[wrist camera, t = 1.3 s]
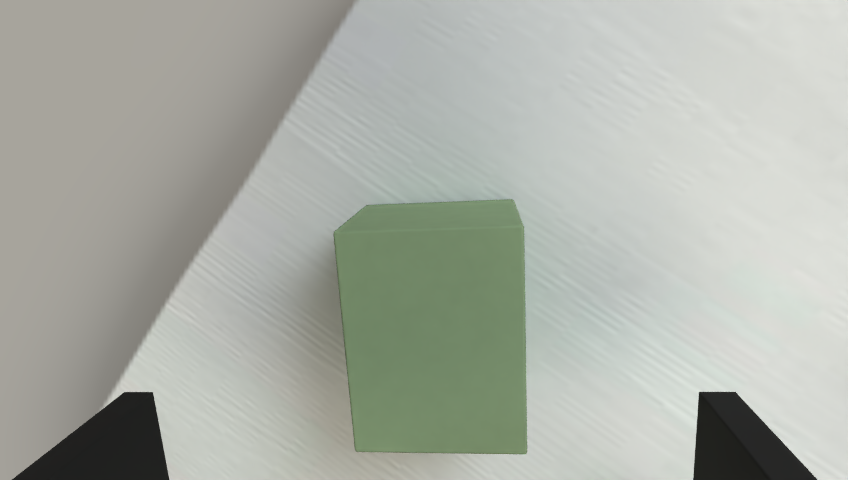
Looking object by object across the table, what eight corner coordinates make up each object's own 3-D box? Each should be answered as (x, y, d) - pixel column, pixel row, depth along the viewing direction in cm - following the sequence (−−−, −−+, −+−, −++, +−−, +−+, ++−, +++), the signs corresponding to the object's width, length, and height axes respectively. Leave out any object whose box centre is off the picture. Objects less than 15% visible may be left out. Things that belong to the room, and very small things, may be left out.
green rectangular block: (365, 205, 21) (332, 231, 17) (514, 198, 21) (524, 225, 16) (380, 382, 23) (354, 452, 18) (517, 382, 23) (527, 455, 18)
